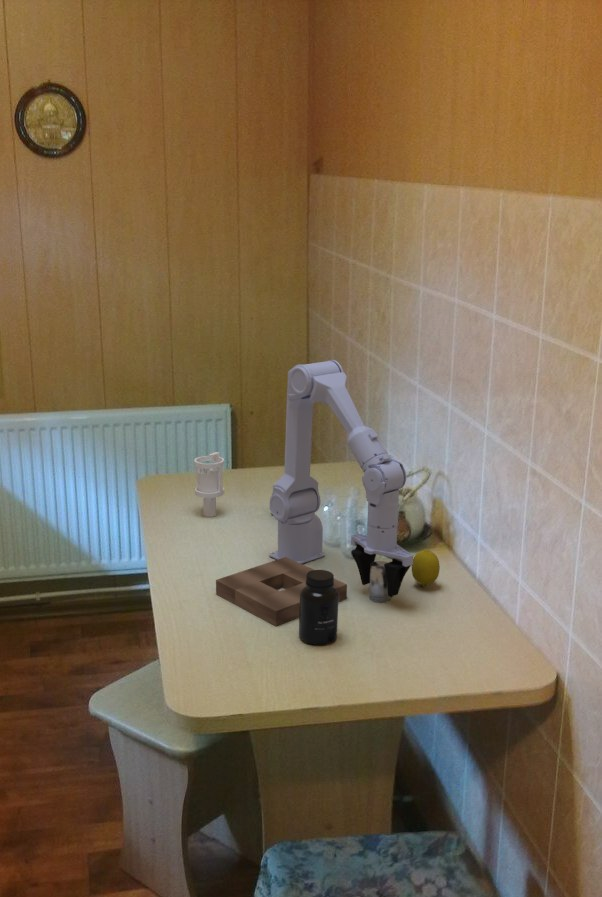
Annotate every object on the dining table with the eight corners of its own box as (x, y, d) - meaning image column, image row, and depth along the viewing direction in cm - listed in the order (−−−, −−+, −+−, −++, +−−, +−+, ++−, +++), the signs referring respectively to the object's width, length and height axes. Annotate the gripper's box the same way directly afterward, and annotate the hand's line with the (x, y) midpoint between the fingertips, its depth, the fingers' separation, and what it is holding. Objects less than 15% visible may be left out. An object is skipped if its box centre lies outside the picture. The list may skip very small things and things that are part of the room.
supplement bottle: (324, 650, 160) (326, 586, 157) (291, 639, 164) (292, 576, 161) (344, 634, 166) (346, 572, 163) (311, 624, 169) (312, 563, 166)
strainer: (230, 513, 226) (229, 454, 222) (212, 521, 220) (211, 461, 216) (207, 507, 229) (206, 449, 225) (189, 516, 224) (188, 456, 219)
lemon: (441, 583, 188) (444, 546, 185) (433, 594, 183) (435, 556, 181) (415, 578, 190) (417, 542, 188) (406, 588, 185) (408, 551, 183)
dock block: (285, 570, 193) (285, 556, 192) (346, 598, 180) (347, 584, 179) (216, 594, 181) (215, 579, 181) (276, 626, 169) (276, 611, 168)
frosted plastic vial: (379, 592, 183) (380, 559, 181) (394, 598, 181) (395, 565, 179) (364, 597, 181) (366, 564, 179) (379, 604, 178) (381, 570, 176)
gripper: (340, 517, 179) (338, 582, 183) (396, 539, 169) (393, 607, 172) (366, 509, 184) (363, 573, 187) (422, 530, 173) (418, 597, 177)
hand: (379, 589), depth 180 cm, fingers open, 6 cm apart
